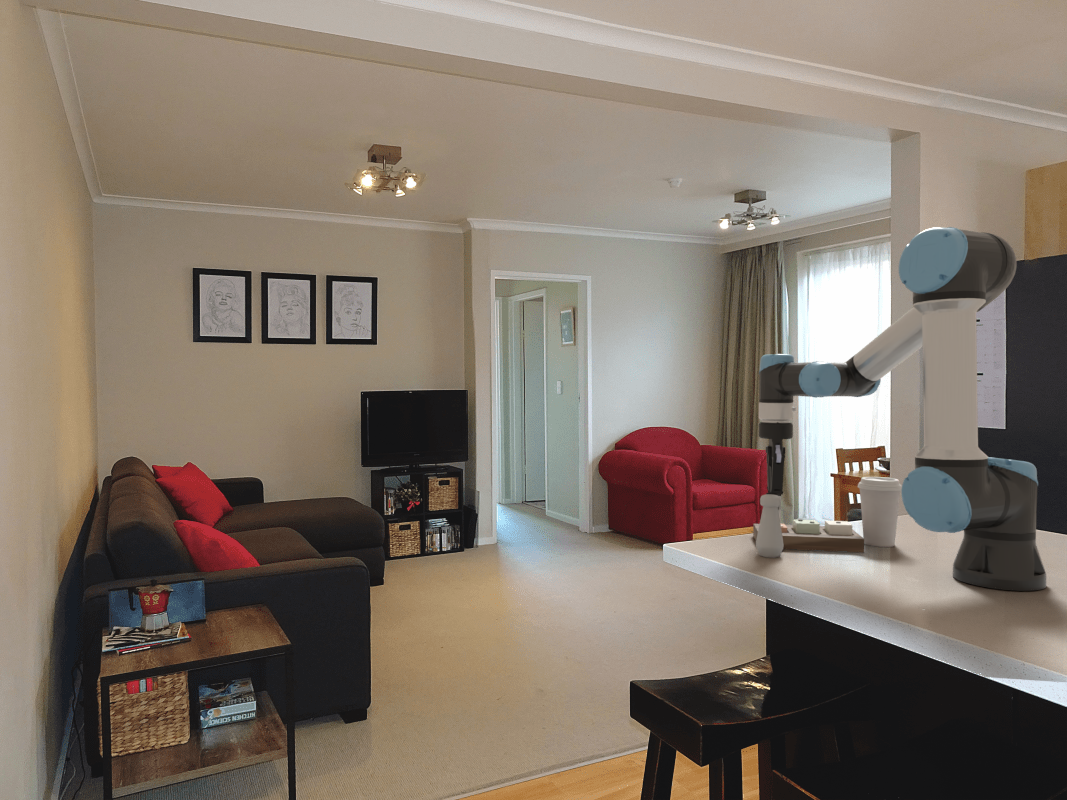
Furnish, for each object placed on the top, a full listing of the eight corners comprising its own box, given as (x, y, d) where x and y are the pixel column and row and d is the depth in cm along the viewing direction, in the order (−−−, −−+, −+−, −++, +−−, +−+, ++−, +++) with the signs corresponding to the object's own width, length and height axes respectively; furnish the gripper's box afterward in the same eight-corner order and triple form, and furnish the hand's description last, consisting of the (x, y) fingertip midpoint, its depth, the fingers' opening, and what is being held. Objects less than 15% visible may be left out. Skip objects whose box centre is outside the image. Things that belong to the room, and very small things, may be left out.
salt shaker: (752, 556, 167) (753, 495, 166) (758, 551, 172) (759, 492, 171) (780, 559, 164) (781, 497, 163) (786, 554, 169) (786, 494, 169)
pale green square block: (819, 534, 177) (819, 523, 177) (796, 533, 178) (796, 522, 178) (815, 530, 182) (815, 519, 182) (793, 529, 183) (793, 518, 183)
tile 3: (787, 538, 178) (787, 526, 178) (764, 537, 179) (764, 525, 179) (784, 533, 183) (784, 522, 183) (761, 533, 184) (762, 522, 184)
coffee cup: (909, 548, 175) (910, 481, 175) (866, 548, 176) (867, 481, 175) (890, 539, 185) (892, 476, 185) (850, 539, 185) (851, 476, 185)
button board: (864, 552, 171) (864, 538, 171) (759, 548, 175) (759, 534, 175) (849, 539, 185) (849, 527, 185) (753, 536, 189) (753, 523, 189)
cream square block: (852, 535, 176) (852, 524, 176) (828, 535, 177) (829, 523, 176) (847, 531, 181) (847, 520, 181) (824, 530, 181) (824, 519, 181)
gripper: (797, 423, 173) (795, 529, 174) (788, 420, 186) (787, 519, 187) (762, 422, 175) (760, 528, 175) (755, 419, 187) (754, 517, 188)
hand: (774, 523), depth 181 cm, fingers closed
